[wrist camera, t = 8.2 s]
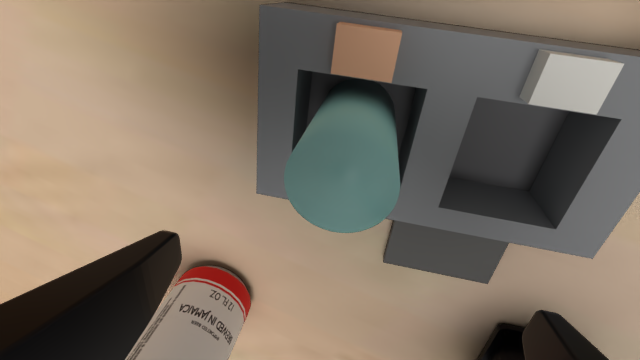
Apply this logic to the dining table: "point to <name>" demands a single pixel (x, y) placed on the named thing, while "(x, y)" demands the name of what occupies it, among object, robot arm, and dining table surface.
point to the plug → (347, 160)
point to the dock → (467, 120)
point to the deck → (443, 251)
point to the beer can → (196, 318)
